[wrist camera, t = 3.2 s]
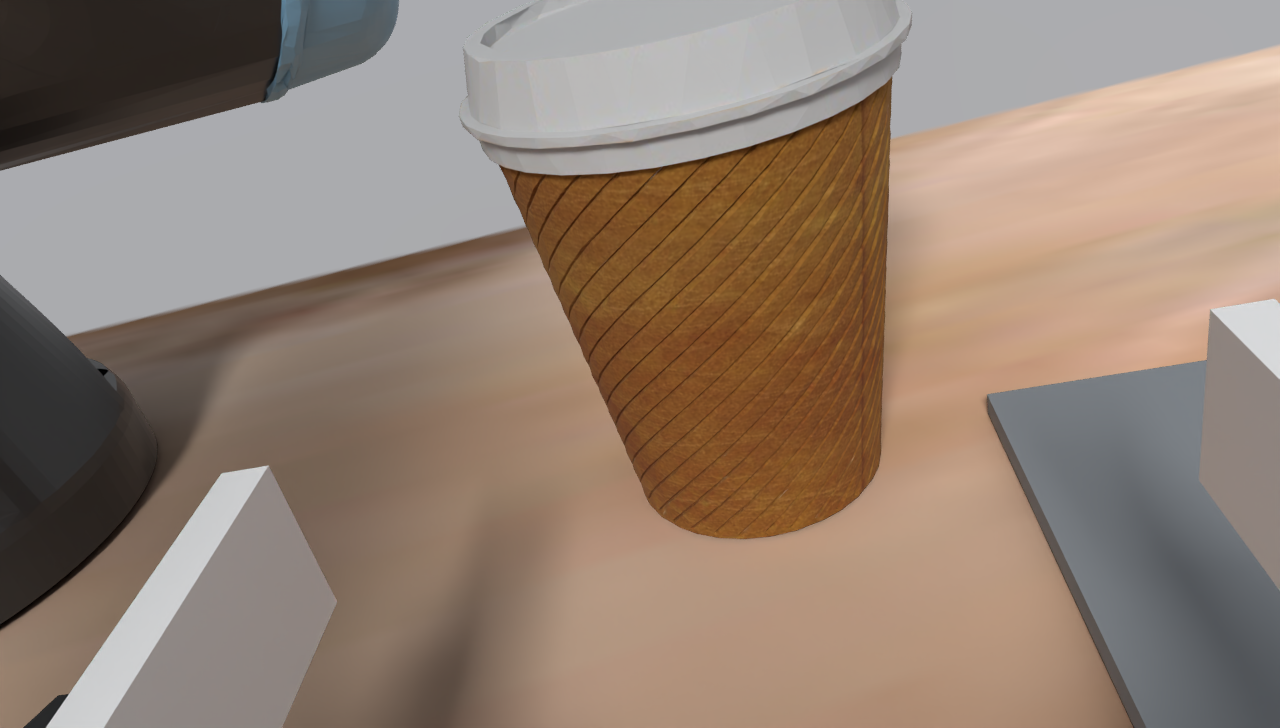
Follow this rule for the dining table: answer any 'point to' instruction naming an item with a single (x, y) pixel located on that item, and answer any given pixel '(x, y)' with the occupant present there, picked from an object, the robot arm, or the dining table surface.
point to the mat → (1148, 545)
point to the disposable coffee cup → (710, 232)
